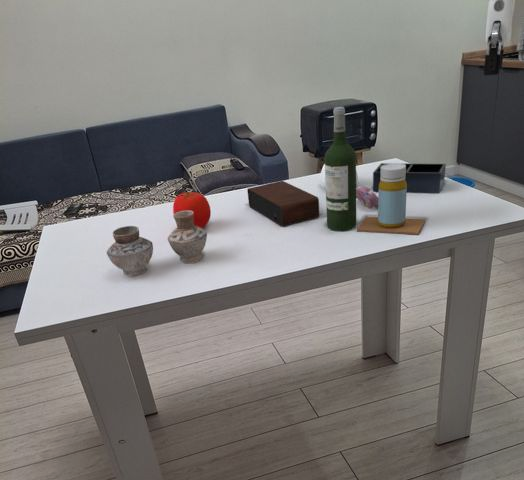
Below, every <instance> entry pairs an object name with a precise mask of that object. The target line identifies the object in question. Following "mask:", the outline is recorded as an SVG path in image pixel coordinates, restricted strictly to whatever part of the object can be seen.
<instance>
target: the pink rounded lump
mask: <svg viewBox="0 0 524 480" xmlns="http://www.w3.org/2000/svg"><path fill="white" fill-rule="evenodd" d="M356 200H358V201H359V202H360V203H361V205H362V206H366V207H367V208H368V209H371V208H372V207H374V208H376V209H378V196H377V195H376V194H375V192H373V190H371V189H370V188H369V187H367V186H360V185H359V186H358V187H356Z"/></svg>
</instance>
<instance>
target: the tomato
mask: <svg viewBox="0 0 524 480" xmlns="http://www.w3.org/2000/svg"><path fill="white" fill-rule="evenodd" d="M185 210H189V211H193V212H194V216H193V220H194V225H195V226H198V227H200V228H202V229H204V228H205V227H206V226H207V225H208V223H209V222H210V219H211V217H212V216H211V215H212V214H211V213H212V211H211V206H210V203H209V200H208V199H207V197H205V195H204V194H202V193H199V192H198V191H197V192H196V191H195V192H194V191H187V192H183V193H180V194H178V195H176V197H175V199H174V201H173V205H172V212H173V213H172V214H173V215H174V214H175V213H177V212H180V211H185Z"/></svg>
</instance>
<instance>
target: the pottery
mask: <svg viewBox="0 0 524 480" xmlns="http://www.w3.org/2000/svg"><path fill="white" fill-rule="evenodd" d="M193 216H194V212H193V211H189V210H185V211H180V212H177V213H175V214H173V216H172V217H173V219H174V221H175V224H176V227H177V228H175V229H174V230H173V231H172V232H171V233H170V234H169V235H168V237H167V241H168V244H169V245H170V248H171V250H172V251H173V252H174V253H175V254H176V255H178V256H179V261H180V262H181V263H184V264H193V263H197V262H199V261H201V260H202V259H203V255H202V252H203V251H204V249H205V246H206V243H207V239H208V238H207V237H208V231H206V229H204V228H200V227H198V226H195V225H194V220H193ZM112 236H113V240H114V241H115V242H113V243H112V244H111V246H109V247H108V249H107V250H106V255H107V258H108V259H109V261H110V262H111V264H113V266H115V267H116V268H118V269H120V270H122V273H123V274H124V275H125V276H127V277H135V276H139V275H142V274H144V273H145V272H146V271H147V270H148V268H147V265H149V263H150V261H151V260H152V257H153V254H154V245H153V242H152V241H151V240H150V239H147V238H145V237H142V236H140V229H139V227H138V226H136V225H127V226H121V227H118V228H116V229H114V230H113V231H112Z"/></svg>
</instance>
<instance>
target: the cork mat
mask: <svg viewBox="0 0 524 480" xmlns="http://www.w3.org/2000/svg"><path fill="white" fill-rule="evenodd" d="M425 223H426V219H425V218H408V217H405V223H404V224H403V225H402V226H400V227H397V228H385V227H382V226H380V224H379V223H378V216H368V215H367V216H365V217H364V219H363V221H361V222H360V225H359V226H358V227H357V229H356V232H360V233H375V234H376V233H377V234H394V235H410V236H413V235H414V236H419V235H420V233H421V231H422V229H423V227H424V225H425Z"/></svg>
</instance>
